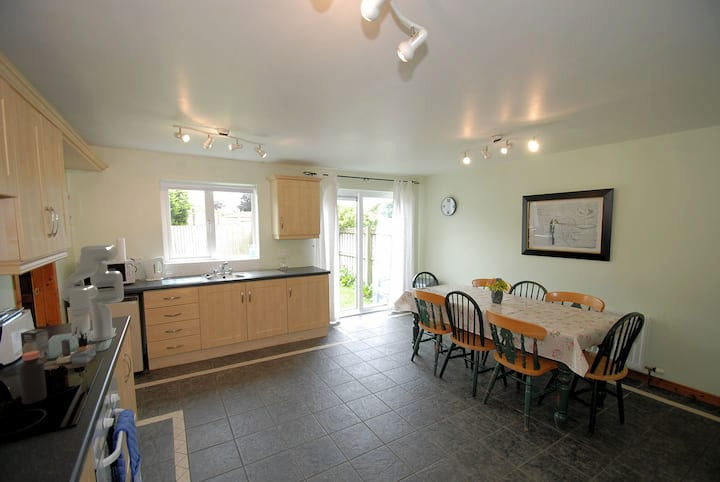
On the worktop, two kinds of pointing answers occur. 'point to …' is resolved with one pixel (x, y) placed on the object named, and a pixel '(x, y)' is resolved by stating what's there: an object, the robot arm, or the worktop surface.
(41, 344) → the coffee box
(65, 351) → the cream plate with knob
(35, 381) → the bottle
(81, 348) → the button
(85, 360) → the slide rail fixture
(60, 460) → the worktop surface
